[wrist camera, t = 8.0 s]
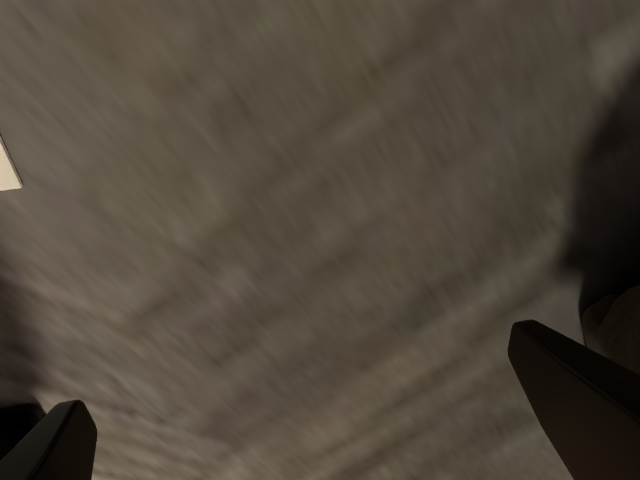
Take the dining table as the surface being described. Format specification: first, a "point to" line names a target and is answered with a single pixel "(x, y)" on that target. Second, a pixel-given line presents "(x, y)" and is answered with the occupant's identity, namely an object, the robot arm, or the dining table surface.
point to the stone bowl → (615, 328)
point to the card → (8, 171)
